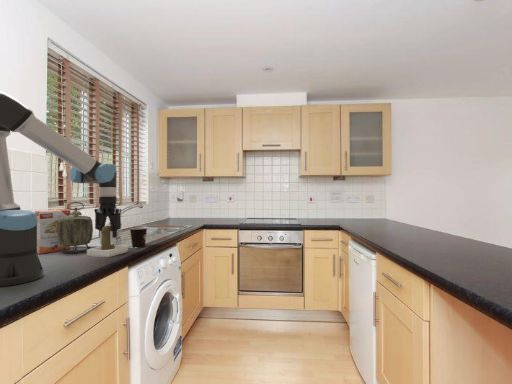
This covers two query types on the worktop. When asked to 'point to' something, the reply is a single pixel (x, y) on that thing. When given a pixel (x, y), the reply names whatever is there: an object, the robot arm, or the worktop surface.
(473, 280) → the worktop surface
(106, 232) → the olive rounded piece
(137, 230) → the coffee mug
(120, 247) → the tray
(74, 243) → the tabletop clock
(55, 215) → the cracker box
